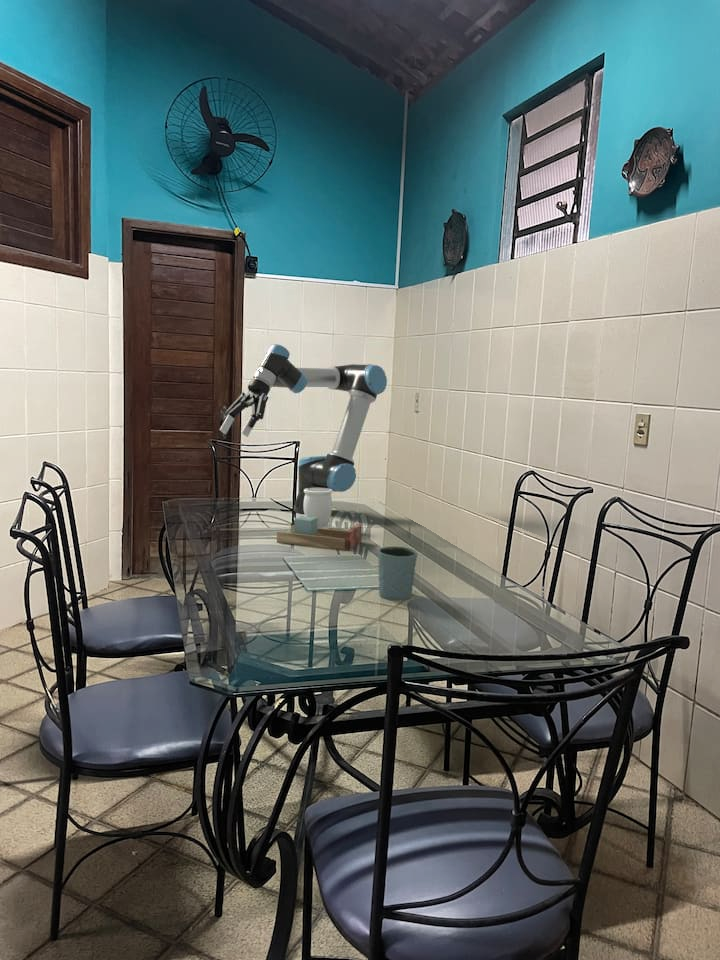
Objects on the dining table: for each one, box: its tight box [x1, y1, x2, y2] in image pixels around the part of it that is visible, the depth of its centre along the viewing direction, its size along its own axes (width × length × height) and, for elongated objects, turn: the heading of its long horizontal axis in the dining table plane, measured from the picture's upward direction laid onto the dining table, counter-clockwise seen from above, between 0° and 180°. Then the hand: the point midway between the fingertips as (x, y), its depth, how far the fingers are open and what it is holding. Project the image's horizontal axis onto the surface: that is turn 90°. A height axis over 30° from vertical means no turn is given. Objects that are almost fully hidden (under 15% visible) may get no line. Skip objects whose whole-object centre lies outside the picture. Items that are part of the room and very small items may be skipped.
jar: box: [303, 488, 333, 529], centre depth 255 cm, size 11×10×15 cm
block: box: [293, 515, 318, 536], centre depth 237 cm, size 6×6×8 cm
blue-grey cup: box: [378, 546, 418, 601], centre depth 181 cm, size 10×10×12 cm
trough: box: [276, 524, 362, 551], centre depth 236 cm, size 12×26×6 cm, turn 71°
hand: (233, 433), depth 242 cm, fingers open, 13 cm apart
